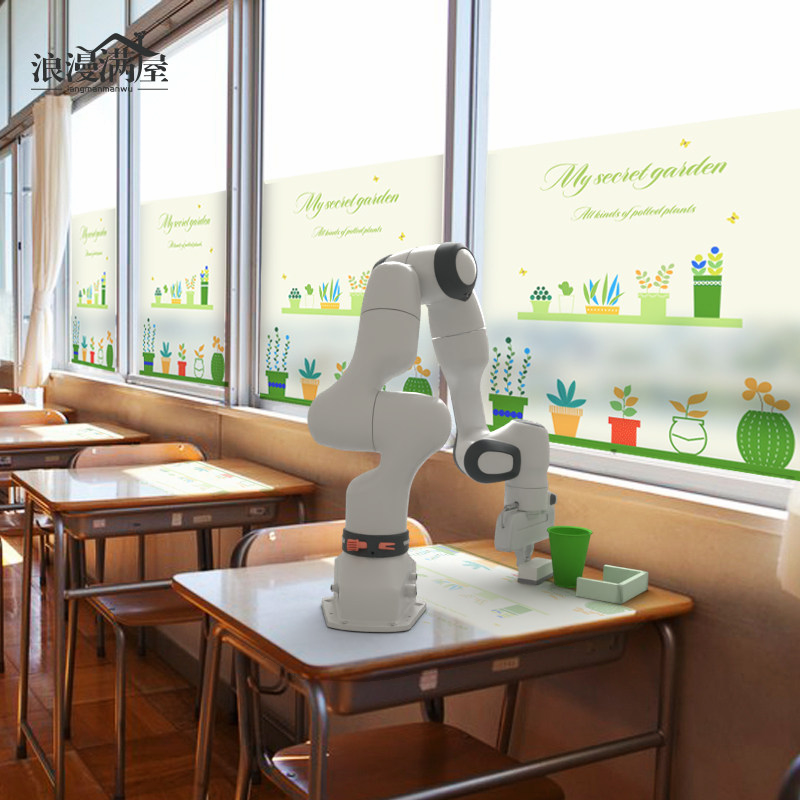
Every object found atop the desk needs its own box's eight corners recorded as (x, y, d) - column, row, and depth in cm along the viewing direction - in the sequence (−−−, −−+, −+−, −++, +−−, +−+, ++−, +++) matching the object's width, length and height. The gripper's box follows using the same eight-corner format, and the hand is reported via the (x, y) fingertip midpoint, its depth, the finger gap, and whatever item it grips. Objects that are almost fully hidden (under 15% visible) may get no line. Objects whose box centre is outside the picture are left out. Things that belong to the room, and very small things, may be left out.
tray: (620, 604, 195) (621, 585, 195) (576, 596, 200) (576, 578, 199) (647, 589, 206) (648, 571, 206) (604, 581, 211) (605, 564, 211)
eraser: (536, 585, 207) (537, 568, 207) (517, 582, 209) (518, 565, 209) (553, 576, 215) (554, 560, 215) (535, 573, 217) (536, 557, 217)
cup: (535, 583, 209) (537, 528, 208) (565, 576, 215) (567, 524, 214) (569, 592, 202) (571, 536, 201) (599, 586, 208) (602, 531, 207)
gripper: (516, 508, 202) (514, 578, 203) (561, 494, 219) (558, 559, 220) (487, 504, 206) (485, 573, 207) (533, 491, 223) (531, 555, 224)
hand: (523, 566), depth 214 cm, fingers closed
